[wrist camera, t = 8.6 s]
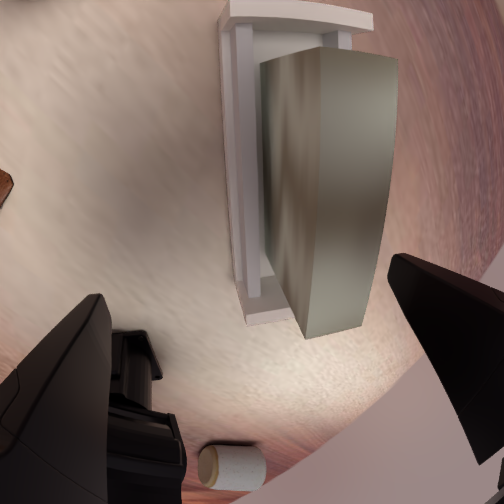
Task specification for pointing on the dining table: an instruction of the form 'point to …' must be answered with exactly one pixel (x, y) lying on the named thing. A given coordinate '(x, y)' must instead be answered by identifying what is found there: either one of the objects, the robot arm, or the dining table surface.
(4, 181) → the sunglasses case
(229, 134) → the cabinet track
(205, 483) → the ceramic mug
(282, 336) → the dining table surface
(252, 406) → the dining table surface
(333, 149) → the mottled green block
